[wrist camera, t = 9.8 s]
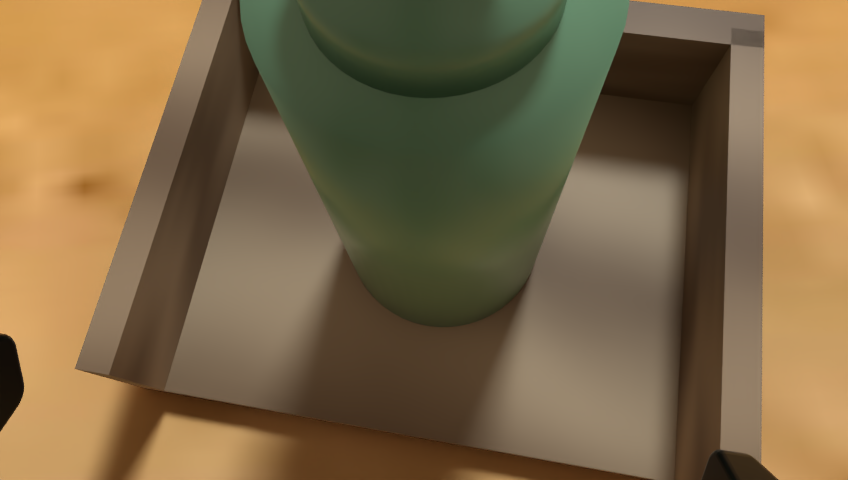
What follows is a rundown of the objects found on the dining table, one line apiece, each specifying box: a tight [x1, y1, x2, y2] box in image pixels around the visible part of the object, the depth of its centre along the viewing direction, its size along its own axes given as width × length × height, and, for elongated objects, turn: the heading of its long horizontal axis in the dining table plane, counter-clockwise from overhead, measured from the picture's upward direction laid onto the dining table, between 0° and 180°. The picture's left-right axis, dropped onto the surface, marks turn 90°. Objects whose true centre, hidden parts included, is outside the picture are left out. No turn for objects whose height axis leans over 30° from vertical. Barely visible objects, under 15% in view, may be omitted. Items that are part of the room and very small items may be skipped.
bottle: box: [240, 0, 629, 327], centre depth 12 cm, size 5×5×14 cm
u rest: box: [75, 0, 764, 480], centre depth 17 cm, size 12×15×4 cm
